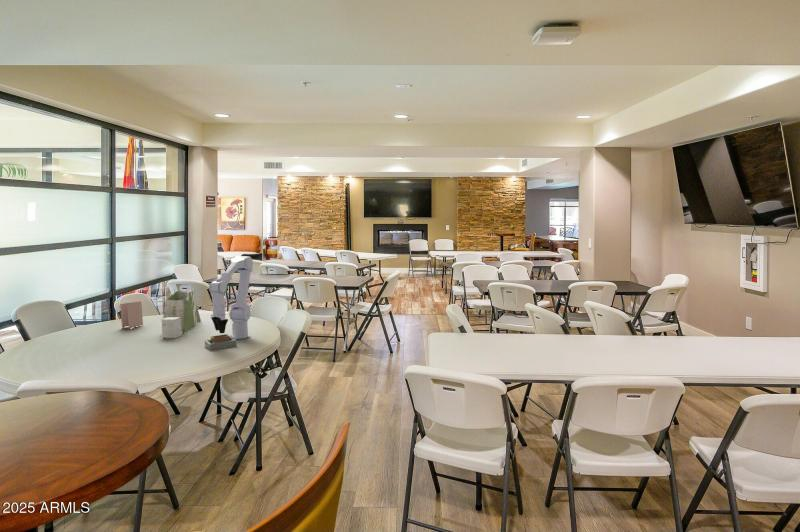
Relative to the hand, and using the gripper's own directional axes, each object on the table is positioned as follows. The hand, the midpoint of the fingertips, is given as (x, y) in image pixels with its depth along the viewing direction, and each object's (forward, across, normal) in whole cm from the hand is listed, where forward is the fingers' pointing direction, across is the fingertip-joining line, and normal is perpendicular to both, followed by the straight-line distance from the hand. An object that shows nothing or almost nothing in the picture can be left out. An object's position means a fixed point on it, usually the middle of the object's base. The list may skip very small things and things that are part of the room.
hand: (220, 331), depth 247 cm
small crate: (+7, 0, 0) cm, 7 cm away
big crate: (+7, 0, 0) cm, 7 cm away
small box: (+8, -37, -16) cm, 41 cm away
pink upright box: (+8, -76, -30) cm, 82 cm away
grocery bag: (+8, -60, -6) cm, 60 cm away
